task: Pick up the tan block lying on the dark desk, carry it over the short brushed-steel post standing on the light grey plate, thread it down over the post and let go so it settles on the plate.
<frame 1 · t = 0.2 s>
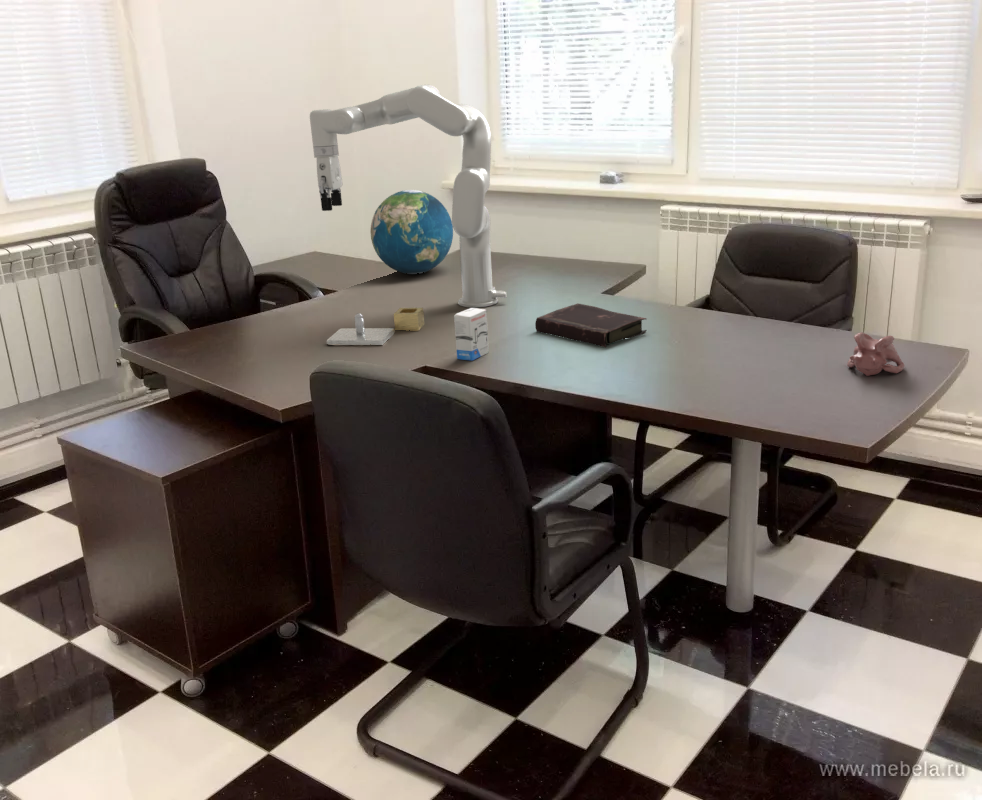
hand: (332, 208, 292), 31 cm above the table, fingers open, 9 cm apart
globe: (415, 273, 342), on the table
figurine: (872, 371, 215), on the table
ink box: (473, 356, 243), on the table
tan block: (409, 327, 272), on the table
post block: (361, 339, 263), on the table
diary: (591, 334, 258), on the table
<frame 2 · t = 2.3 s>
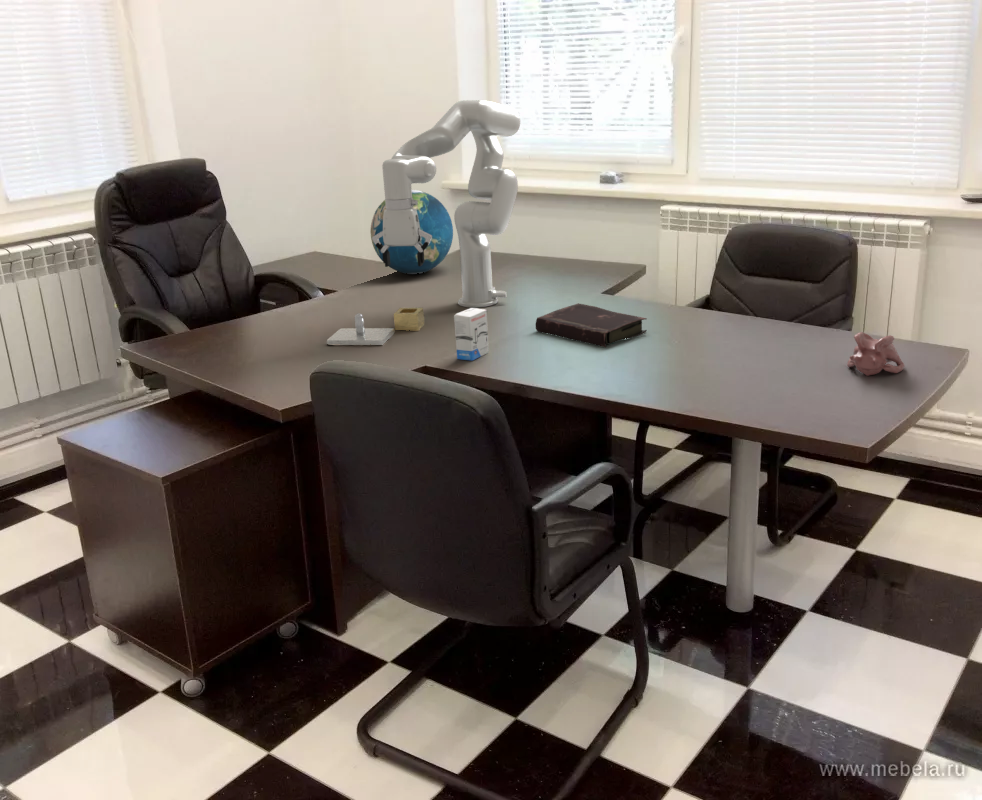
hand: (404, 265, 265), 18 cm above the table, fingers open, 9 cm apart
nothing on the table moved.
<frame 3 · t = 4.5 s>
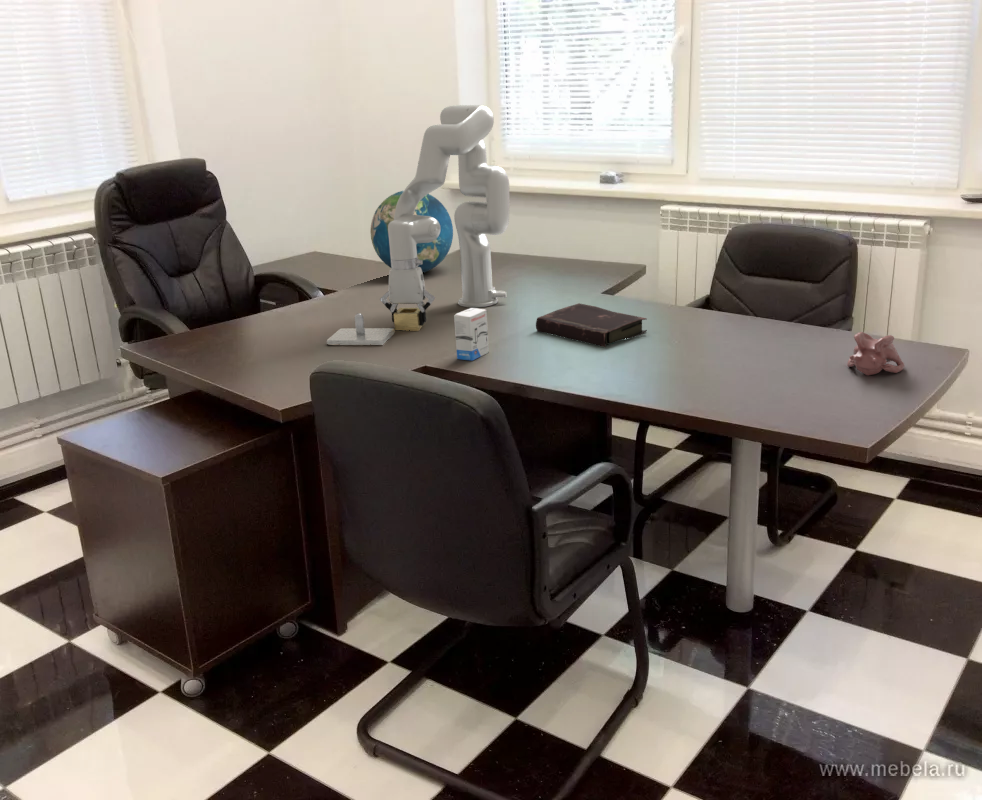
hand: (409, 324, 271), 1 cm above the table, fingers closed on tan block, 7 cm apart
tan block: (409, 327, 272), on the table, touching gripper
everything else where it was.
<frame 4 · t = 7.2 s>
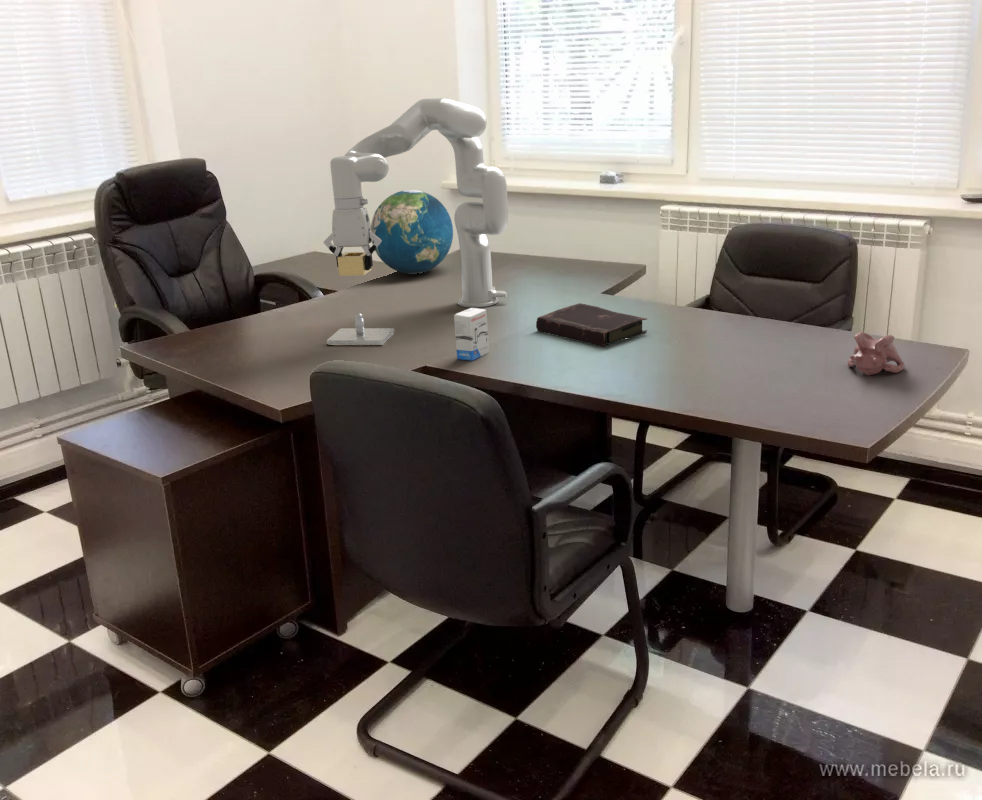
hand: (355, 269, 256), 20 cm above the table, fingers closed on tan block, 7 cm apart
tan block: (355, 272, 256), point 19 cm above the table, touching gripper
everything else where it was.
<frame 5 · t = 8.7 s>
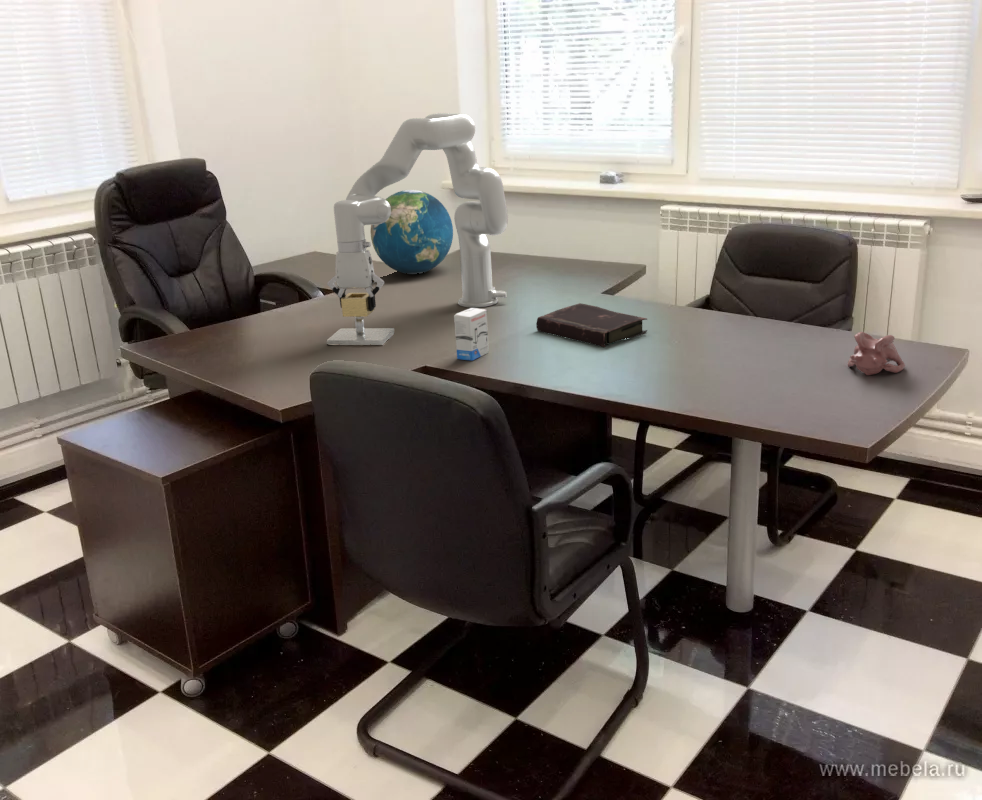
hand: (358, 309, 260), 9 cm above the table, fingers closed on tan block, 7 cm apart
tan block: (358, 313, 260), point 8 cm above the table, touching gripper
everything else where it was.
when the fingers open (5 cm above the table, at t = 10.1 s): tan block drops 2 cm, resting on post block.
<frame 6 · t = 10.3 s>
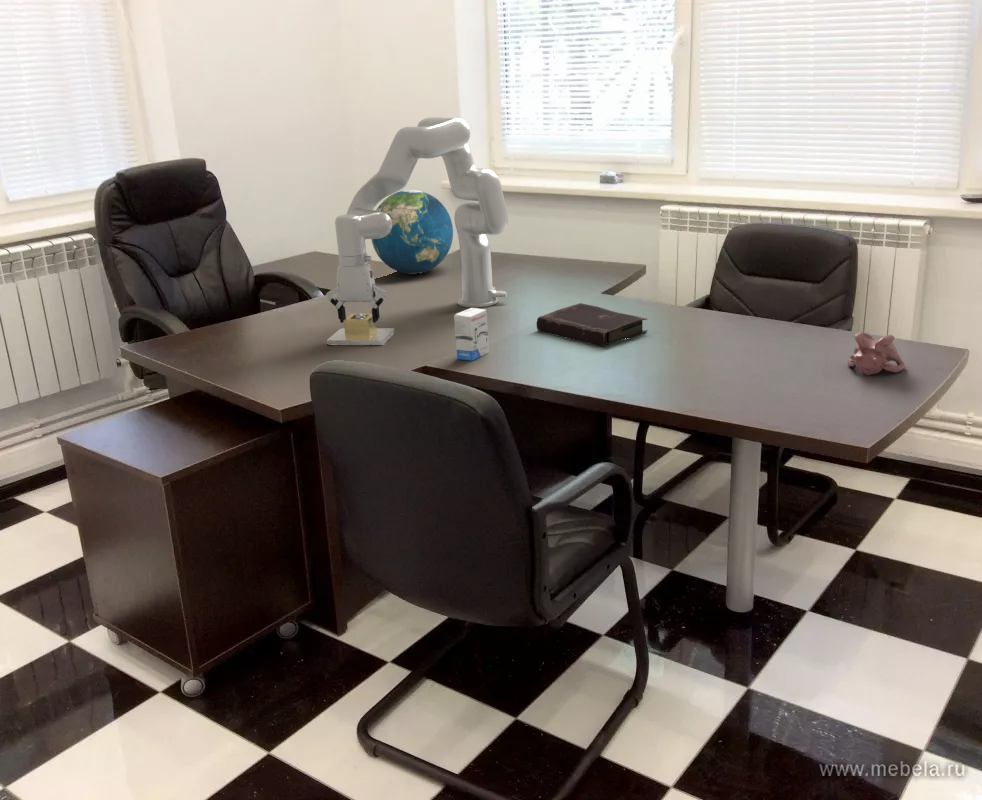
hand: (359, 321, 261), 5 cm above the table, fingers open, 9 cm apart
tan block: (361, 334, 262), point 1 cm above the table, touching post block
everything else where it was.
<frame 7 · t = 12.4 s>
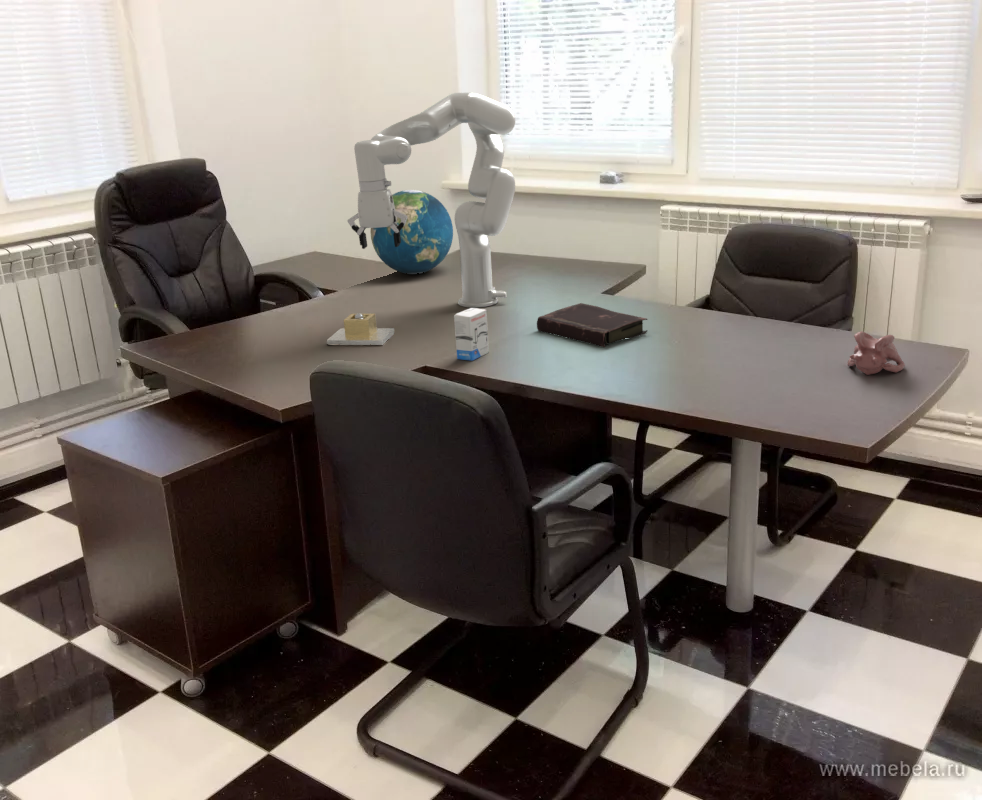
hand: (381, 246, 266), 23 cm above the table, fingers open, 9 cm apart
nothing on the table moved.
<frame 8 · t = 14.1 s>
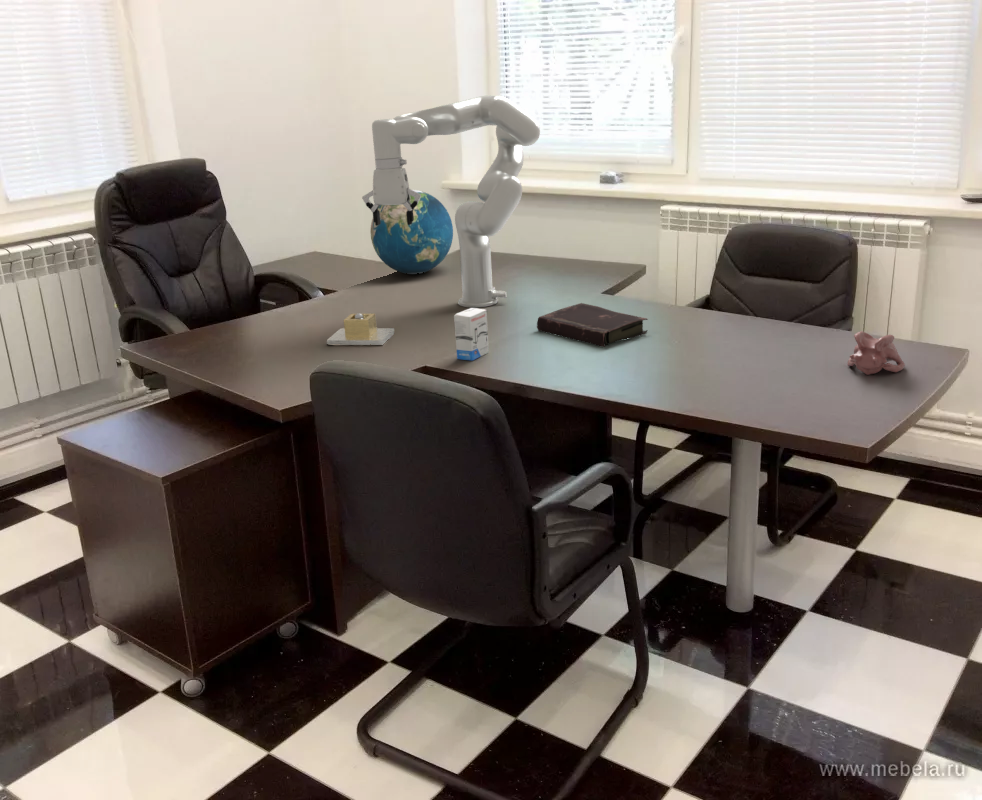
hand: (393, 224, 272), 28 cm above the table, fingers open, 9 cm apart
nothing on the table moved.
at the end: tan block 0.1 cm off-centre on the post block, point 1.5 cm above the post block's base; the gripper is holding nothing; tan block tilted 0° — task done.
